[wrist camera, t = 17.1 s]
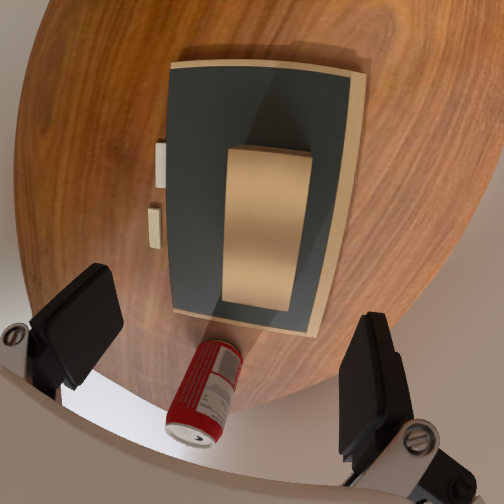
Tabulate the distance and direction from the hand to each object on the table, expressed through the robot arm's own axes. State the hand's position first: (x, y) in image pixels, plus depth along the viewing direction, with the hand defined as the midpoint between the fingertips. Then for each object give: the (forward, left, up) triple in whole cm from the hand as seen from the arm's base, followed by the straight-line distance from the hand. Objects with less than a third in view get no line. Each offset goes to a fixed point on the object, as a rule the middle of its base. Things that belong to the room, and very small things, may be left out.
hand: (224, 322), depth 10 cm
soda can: (+18, -4, -15) cm, 24 cm away
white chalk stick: (-3, -10, -15) cm, 18 cm away
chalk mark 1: (+4, -11, -14) cm, 18 cm away
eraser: (+1, 0, -14) cm, 14 cm away
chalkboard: (0, -2, -15) cm, 15 cm away
